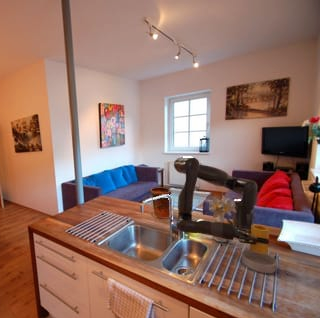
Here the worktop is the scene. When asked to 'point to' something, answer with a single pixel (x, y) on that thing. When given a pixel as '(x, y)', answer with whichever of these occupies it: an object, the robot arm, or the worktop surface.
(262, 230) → the yellow hollow cylinder
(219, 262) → the worktop surface
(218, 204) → the flower vase
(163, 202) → the vessel
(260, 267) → the bowl
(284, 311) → the worktop surface
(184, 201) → the robot arm
